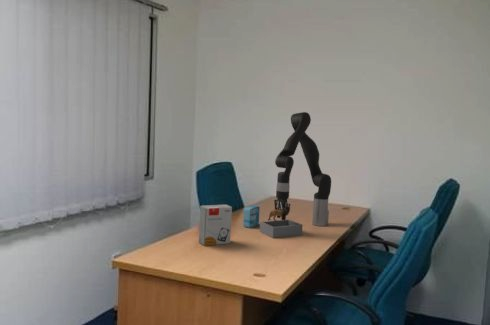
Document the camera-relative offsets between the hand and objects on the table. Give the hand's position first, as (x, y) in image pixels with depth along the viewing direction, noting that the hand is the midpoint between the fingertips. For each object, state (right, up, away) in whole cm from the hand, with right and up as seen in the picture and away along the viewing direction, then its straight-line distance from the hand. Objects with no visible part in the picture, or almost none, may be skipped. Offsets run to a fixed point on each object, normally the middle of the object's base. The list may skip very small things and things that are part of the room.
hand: (281, 218), depth 272 cm
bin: (0, -9, +1) cm, 9 cm away
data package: (-17, -7, +15) cm, 24 cm away
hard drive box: (-37, -10, -25) cm, 46 cm away
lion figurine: (-1, -1, 0) cm, 2 cm away
